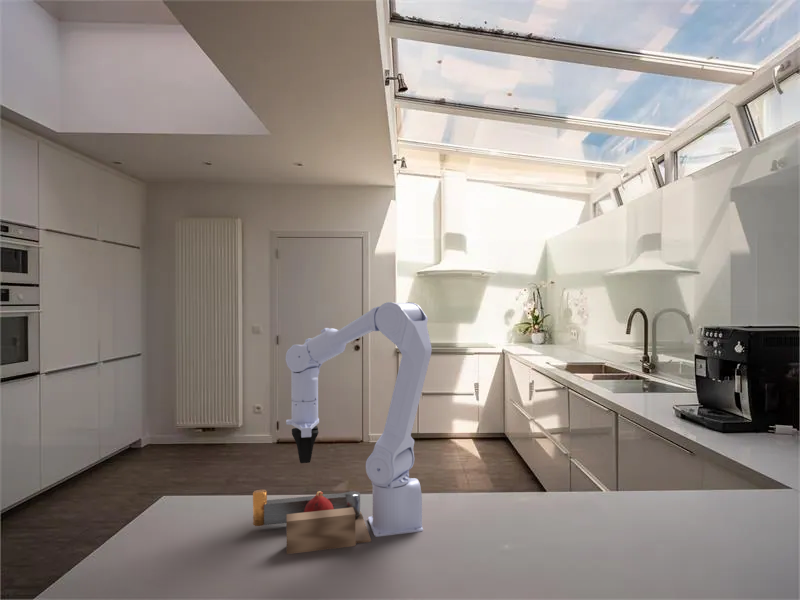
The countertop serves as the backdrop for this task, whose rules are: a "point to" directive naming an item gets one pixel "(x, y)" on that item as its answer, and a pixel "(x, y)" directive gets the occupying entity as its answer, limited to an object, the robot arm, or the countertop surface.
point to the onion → (318, 503)
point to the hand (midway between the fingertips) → (305, 462)
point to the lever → (295, 506)
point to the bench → (325, 530)
